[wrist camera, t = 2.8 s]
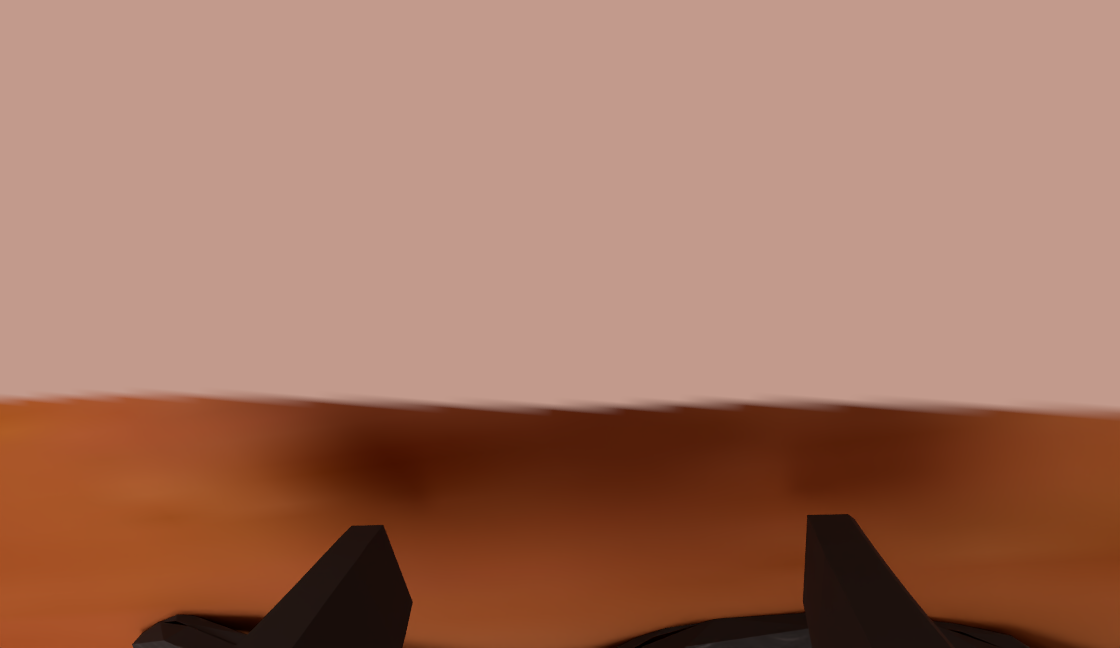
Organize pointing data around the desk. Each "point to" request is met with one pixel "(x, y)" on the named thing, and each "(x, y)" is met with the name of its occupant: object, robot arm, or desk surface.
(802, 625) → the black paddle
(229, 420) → the desk surface
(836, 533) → the robot arm
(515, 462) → the desk surface
